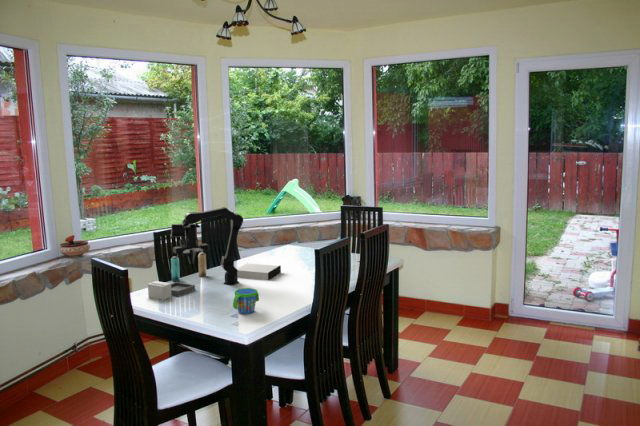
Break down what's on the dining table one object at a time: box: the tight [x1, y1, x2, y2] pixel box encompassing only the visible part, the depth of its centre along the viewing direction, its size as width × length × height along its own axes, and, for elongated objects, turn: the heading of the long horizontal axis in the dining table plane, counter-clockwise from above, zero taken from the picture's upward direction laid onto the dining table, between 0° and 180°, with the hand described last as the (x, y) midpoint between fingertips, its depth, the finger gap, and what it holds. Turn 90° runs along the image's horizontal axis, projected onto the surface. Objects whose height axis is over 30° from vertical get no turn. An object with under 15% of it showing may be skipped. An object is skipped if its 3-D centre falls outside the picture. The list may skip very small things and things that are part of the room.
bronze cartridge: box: [197, 252, 207, 278], centre depth 303 cm, size 4×4×14 cm
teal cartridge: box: [170, 255, 181, 283], centre depth 293 cm, size 4×4×14 cm
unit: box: [147, 280, 173, 301], centre depth 263 cm, size 10×6×7 cm, turn 63°
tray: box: [171, 281, 196, 297], centre depth 273 cm, size 13×13×3 cm
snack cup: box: [232, 287, 260, 315], centre depth 240 cm, size 16×10×10 cm
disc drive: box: [236, 262, 282, 281], centre depth 306 cm, size 18×22×5 cm
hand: (192, 264), depth 279 cm, fingers closed
